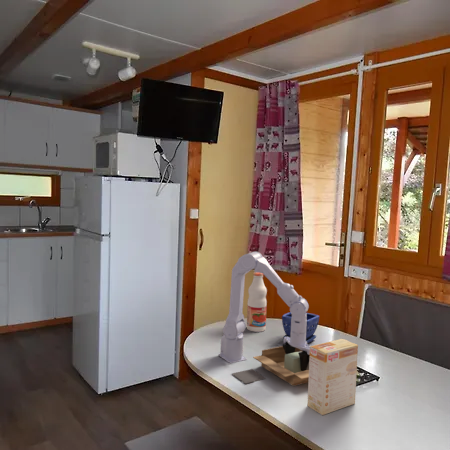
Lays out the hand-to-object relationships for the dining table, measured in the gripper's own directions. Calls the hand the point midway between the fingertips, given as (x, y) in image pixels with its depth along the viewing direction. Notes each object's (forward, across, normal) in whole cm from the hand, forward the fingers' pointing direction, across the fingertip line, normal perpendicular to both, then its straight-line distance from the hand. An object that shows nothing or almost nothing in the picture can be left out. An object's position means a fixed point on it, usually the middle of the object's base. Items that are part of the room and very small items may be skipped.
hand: (296, 366), depth 159 cm
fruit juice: (+2, +48, -15) cm, 50 cm away
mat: (+2, +4, +19) cm, 19 cm away
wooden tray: (+2, -2, +2) cm, 3 cm away
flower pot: (+2, +26, -24) cm, 35 cm away
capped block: (+2, 0, 0) cm, 2 cm away
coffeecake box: (+2, -25, +7) cm, 26 cm away
